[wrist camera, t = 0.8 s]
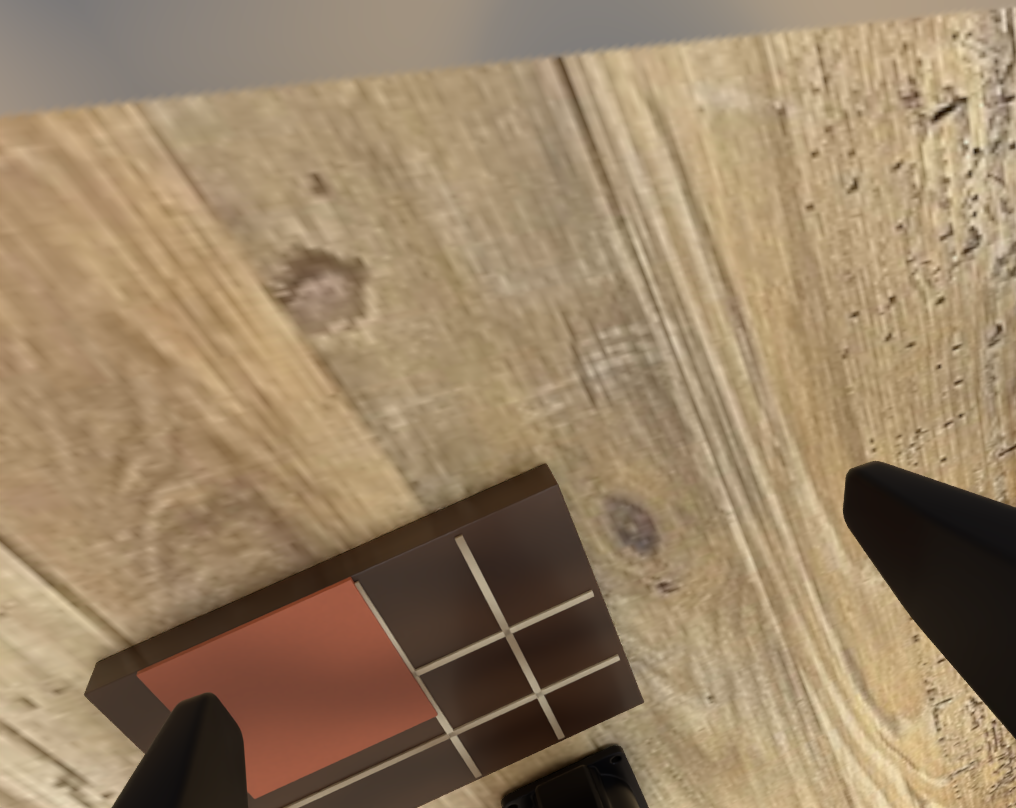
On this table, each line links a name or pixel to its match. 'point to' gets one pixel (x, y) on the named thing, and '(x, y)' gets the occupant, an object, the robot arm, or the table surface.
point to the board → (398, 658)
